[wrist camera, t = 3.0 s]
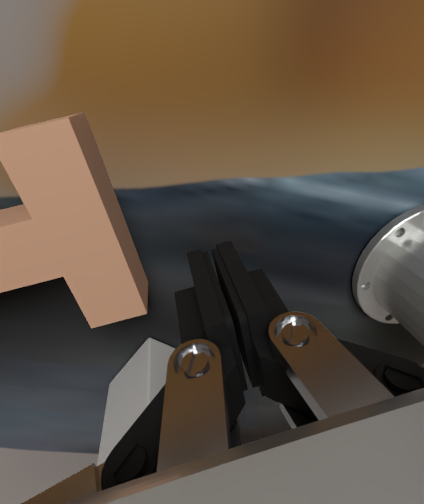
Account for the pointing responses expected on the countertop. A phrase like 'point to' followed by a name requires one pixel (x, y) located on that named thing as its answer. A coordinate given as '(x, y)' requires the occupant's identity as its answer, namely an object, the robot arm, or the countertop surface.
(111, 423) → the milk carton
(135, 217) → the countertop surface
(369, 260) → the robot arm
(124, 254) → the t block
